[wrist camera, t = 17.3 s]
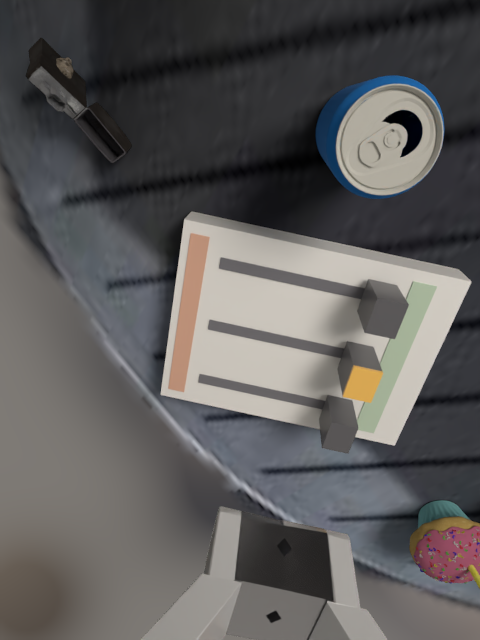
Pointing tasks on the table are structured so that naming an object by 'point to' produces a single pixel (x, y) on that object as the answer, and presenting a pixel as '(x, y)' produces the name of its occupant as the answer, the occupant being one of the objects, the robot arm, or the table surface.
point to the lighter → (74, 99)
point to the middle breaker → (359, 372)
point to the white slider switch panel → (297, 324)
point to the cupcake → (446, 543)
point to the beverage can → (381, 135)
